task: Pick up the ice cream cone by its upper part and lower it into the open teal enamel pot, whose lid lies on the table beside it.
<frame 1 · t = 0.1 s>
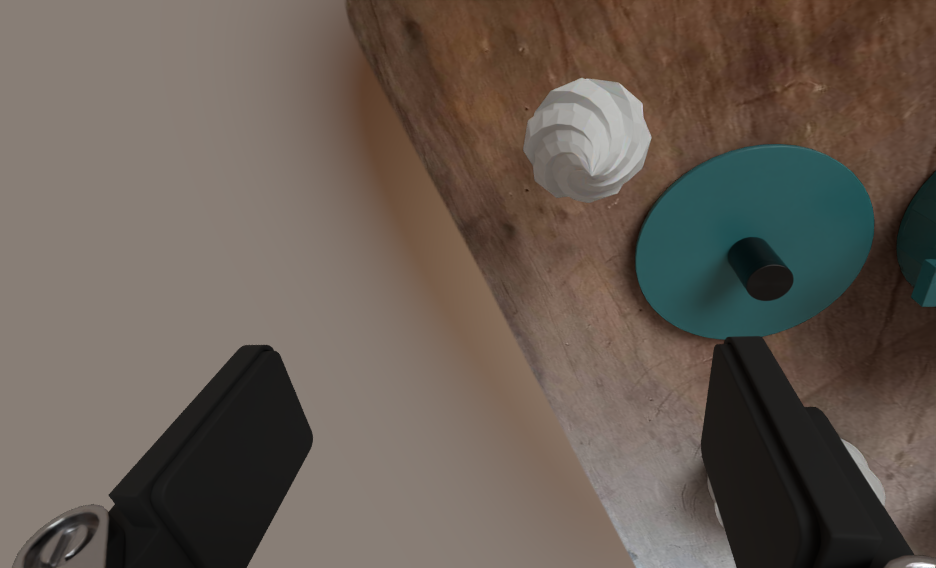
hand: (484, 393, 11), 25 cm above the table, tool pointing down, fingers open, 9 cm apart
ice cream cone: (577, 100, 31), on the table
pot lid: (745, 250, 33), point 1 cm above the table
lid: (779, 469, 44), on the table
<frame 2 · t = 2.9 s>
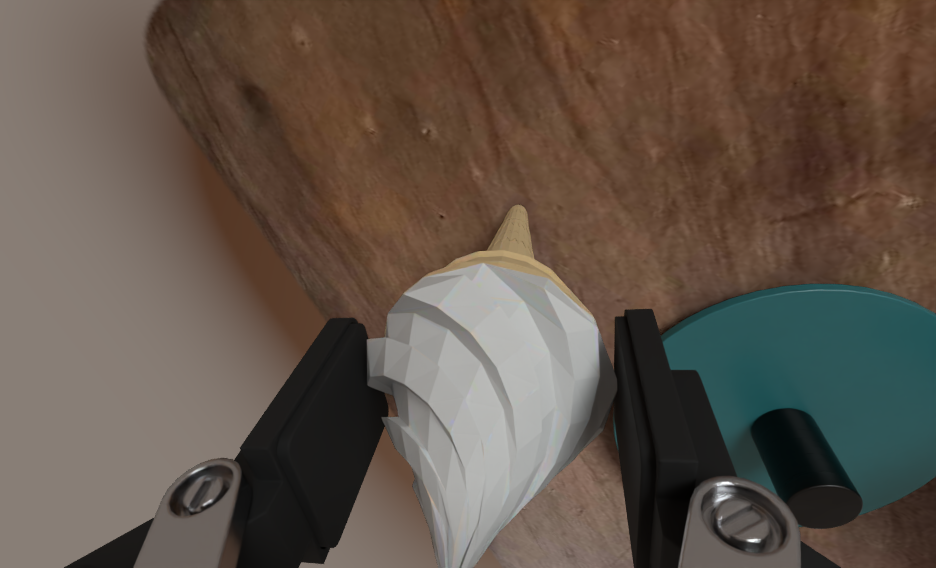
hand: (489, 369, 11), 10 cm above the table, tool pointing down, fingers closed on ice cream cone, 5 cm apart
ice cream cone: (518, 206, 20), on the table, touching gripper
pot lid: (778, 420, 22), point 1 cm above the table
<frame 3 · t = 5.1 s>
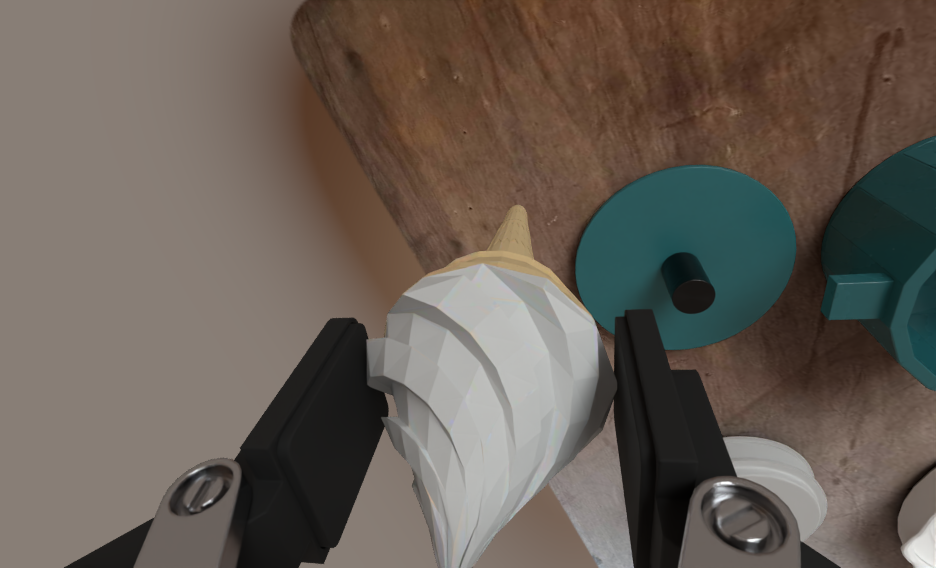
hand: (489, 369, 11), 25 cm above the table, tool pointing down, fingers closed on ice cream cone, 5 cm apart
ice cream cone: (518, 206, 20), point 15 cm above the table, touching gripper
pot lid: (678, 264, 35), point 1 cm above the table
lid: (730, 474, 45), on the table
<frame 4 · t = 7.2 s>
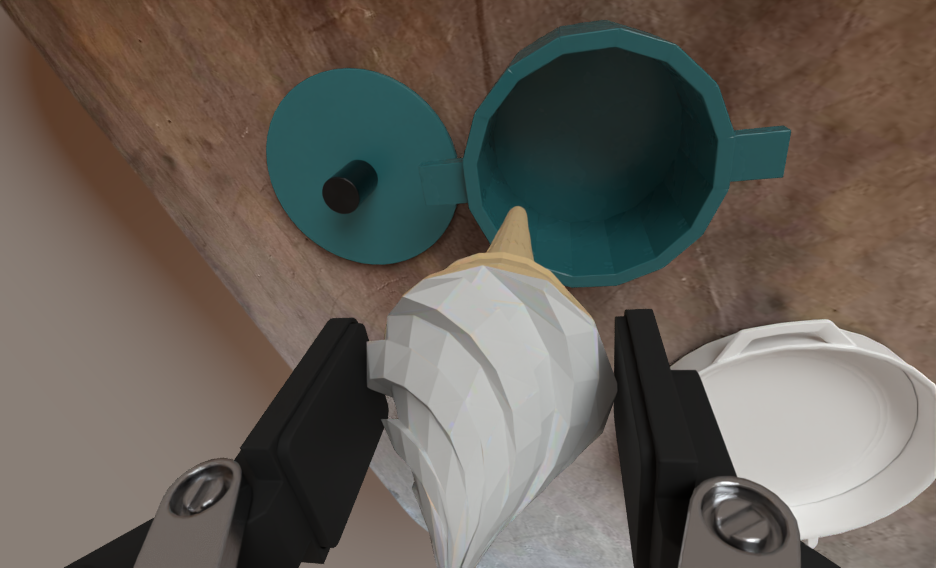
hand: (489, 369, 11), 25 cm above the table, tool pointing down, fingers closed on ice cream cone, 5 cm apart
pot: (584, 136, 33), on the table
ice cream cone: (518, 207, 20), point 15 cm above the table, touching gripper
pan: (766, 425, 43), on the table
pot lid: (363, 174, 36), point 1 cm above the table
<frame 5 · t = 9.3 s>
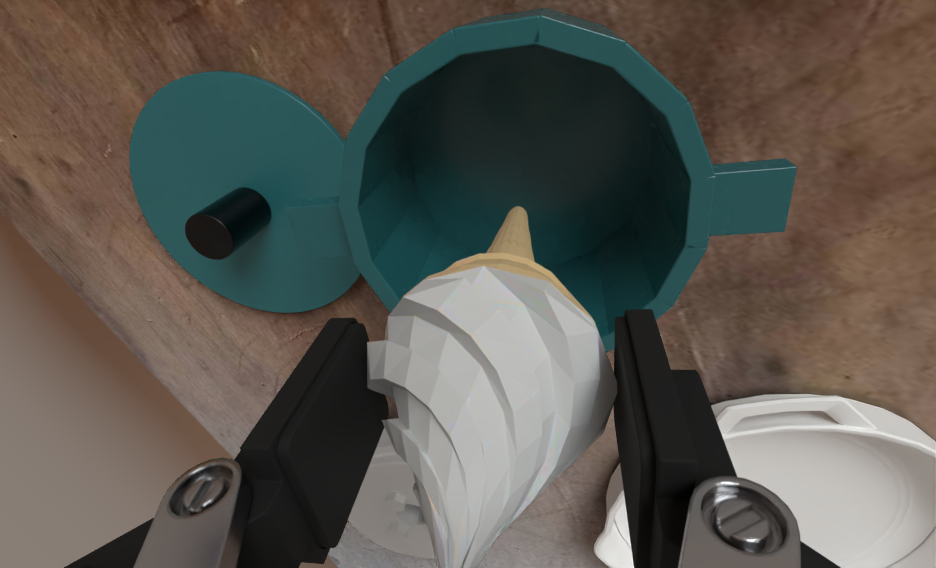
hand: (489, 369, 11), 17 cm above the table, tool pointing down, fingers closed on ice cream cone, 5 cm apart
pot: (527, 160, 25), on the table
ice cream cone: (518, 207, 20), point 7 cm above the table, touching gripper
pan: (761, 503, 36), on the table
pot lid: (254, 205, 29), point 1 cm above the table
lid: (426, 463, 39), on the table
when the fingers open (10 cm above the table, at t = 11.3 s): ice cream cone stays where it is, resting on pot.
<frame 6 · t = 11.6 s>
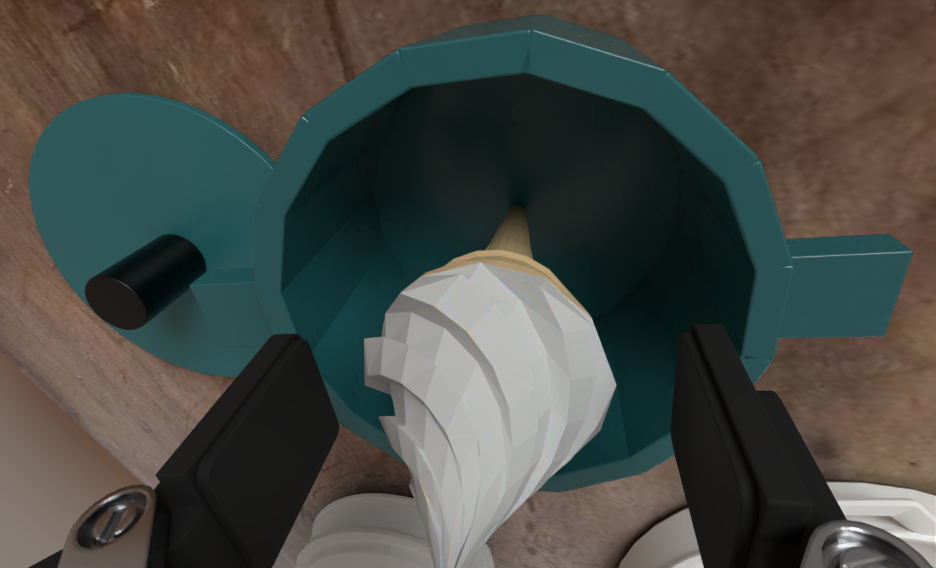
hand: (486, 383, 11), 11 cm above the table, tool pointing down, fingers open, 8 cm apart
pot: (520, 204, 20), on the table
ice cream cone: (517, 206, 20), resting on pot
pot lid: (187, 253, 23), point 1 cm above the table
lid: (406, 537, 34), on the table
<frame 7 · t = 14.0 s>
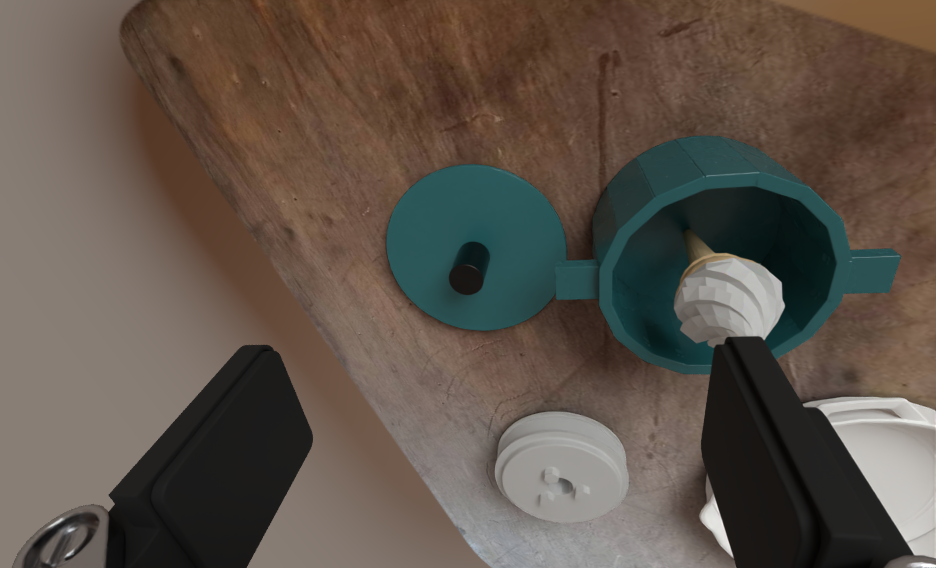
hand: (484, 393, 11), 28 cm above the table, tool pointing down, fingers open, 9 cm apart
pot: (686, 228, 36), on the table
ice cream cone: (685, 229, 36), resting on pot
pan: (829, 482, 46), on the table
pot lid: (475, 253, 39), point 1 cm above the table
lid: (560, 449, 50), on the table
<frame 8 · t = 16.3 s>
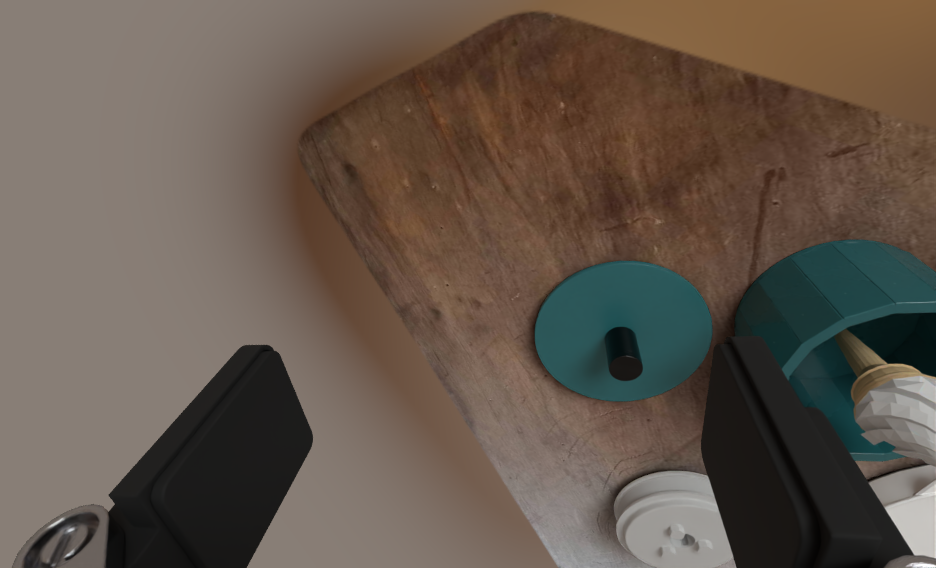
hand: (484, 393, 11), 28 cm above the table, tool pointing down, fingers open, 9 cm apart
pot: (827, 316, 39), on the table
ice cream cone: (828, 318, 39), resting on pot
pan: (933, 532, 49), on the table
pot lid: (619, 335, 42), point 1 cm above the table
lid: (673, 501, 53), on the table
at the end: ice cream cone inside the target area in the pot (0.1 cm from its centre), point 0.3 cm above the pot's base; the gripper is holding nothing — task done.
